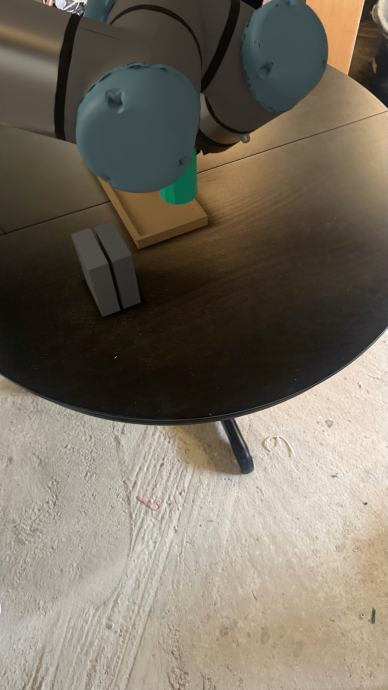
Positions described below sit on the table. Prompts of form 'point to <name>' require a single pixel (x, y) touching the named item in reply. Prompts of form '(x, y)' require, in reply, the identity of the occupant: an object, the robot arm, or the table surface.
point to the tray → (154, 215)
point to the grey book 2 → (119, 263)
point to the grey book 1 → (96, 271)
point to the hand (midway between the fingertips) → (166, 160)
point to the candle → (182, 185)
